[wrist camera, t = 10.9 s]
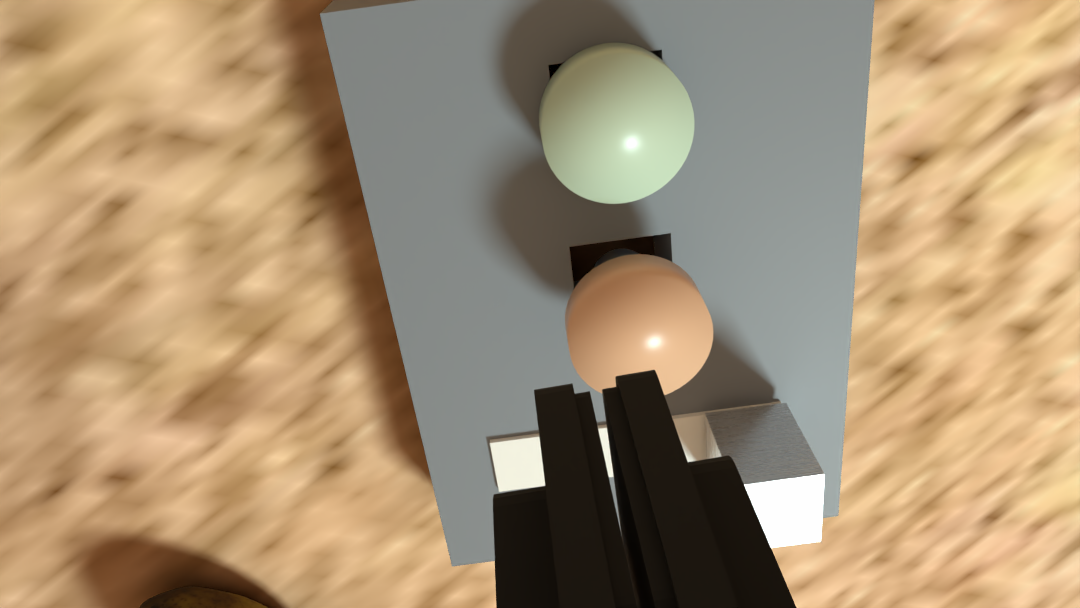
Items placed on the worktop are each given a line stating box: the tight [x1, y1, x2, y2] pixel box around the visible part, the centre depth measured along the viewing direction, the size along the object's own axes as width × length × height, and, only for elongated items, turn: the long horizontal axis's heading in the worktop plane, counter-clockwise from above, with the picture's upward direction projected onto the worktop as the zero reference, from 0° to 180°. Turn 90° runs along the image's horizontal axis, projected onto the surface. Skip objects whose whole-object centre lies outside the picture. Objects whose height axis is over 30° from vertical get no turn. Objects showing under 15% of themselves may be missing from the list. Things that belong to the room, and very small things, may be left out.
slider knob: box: [705, 403, 825, 548], centre depth 30 cm, size 3×3×4 cm
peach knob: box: [565, 249, 713, 395], centre depth 27 cm, size 4×4×4 cm
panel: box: [320, 0, 874, 566], centre depth 31 cm, size 22×16×4 cm
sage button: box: [539, 43, 695, 204], centre depth 26 cm, size 4×4×4 cm
